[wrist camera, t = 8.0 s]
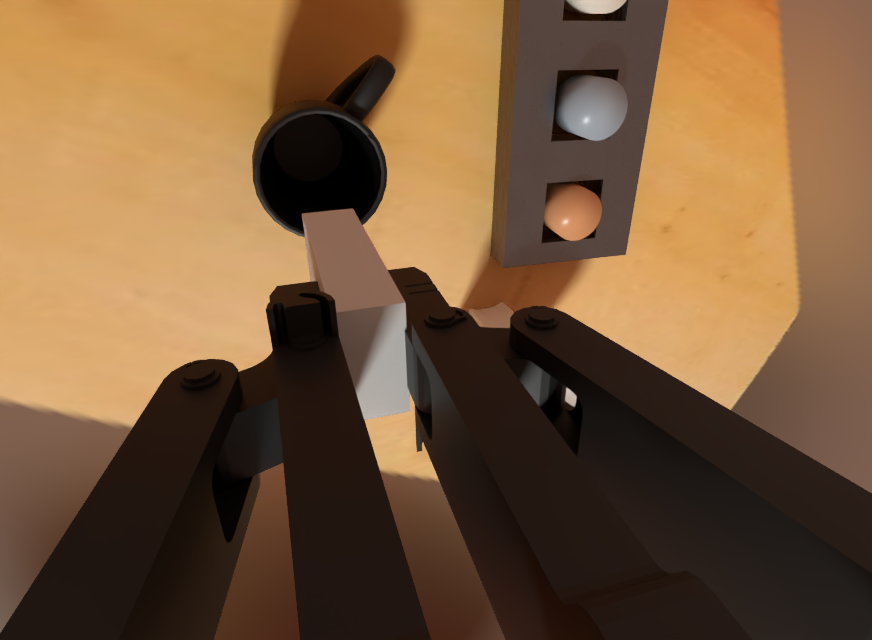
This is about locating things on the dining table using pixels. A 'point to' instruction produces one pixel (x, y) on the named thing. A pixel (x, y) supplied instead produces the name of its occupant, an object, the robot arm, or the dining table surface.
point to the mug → (324, 152)
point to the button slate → (590, 106)
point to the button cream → (592, 6)
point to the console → (568, 153)
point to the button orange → (571, 210)
